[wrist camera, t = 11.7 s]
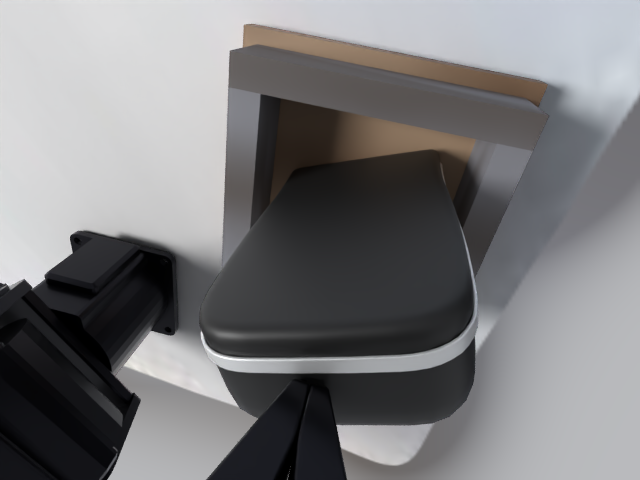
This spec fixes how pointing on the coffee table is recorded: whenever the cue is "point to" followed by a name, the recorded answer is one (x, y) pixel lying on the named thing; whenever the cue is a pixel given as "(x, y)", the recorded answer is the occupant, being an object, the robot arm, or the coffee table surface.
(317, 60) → the dock
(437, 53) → the coffee table surface
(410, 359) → the battery charger
